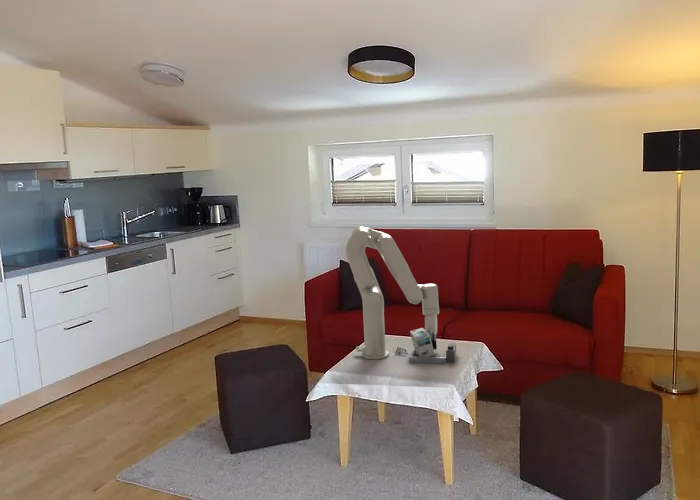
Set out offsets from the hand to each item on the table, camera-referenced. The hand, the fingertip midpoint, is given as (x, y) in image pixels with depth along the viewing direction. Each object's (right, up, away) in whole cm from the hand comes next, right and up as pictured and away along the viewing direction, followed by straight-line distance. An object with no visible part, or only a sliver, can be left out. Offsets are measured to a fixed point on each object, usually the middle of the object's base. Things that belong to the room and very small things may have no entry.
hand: (433, 348), depth 288 cm
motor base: (-1, -3, -7) cm, 8 cm away
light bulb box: (-4, -2, -3) cm, 6 cm away
